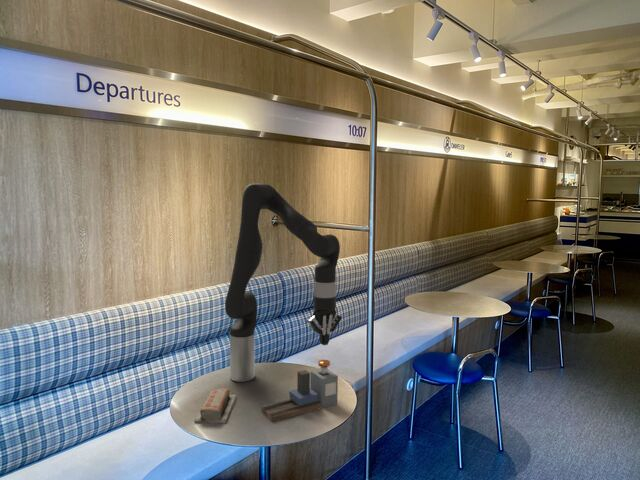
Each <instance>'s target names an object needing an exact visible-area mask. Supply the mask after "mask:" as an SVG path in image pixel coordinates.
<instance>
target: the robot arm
mask: <svg viewBox="0 0 640 480" xmlns="http://www.w3.org/2000/svg"><path fill="white" fill-rule="evenodd" d="M261 210H268V211H271V212H273V213H274V214H275V215H277V216H278V217H279V218H280V220H281V221H282V223H283V226H285V228H286V229H287V230H288V231H289V233H291V234H293V235H294V236H295V237H296V238H297V239H298V240H300V241H302V243H303V244H304V245H305V247H306V248H307V249H308V251H309V252H311V254H312V255H314V256H315V257H319V258H320V260H319V262H318V263H317V264H316V265H315V266H314V284H313V313H312V317H310V318H308V319H307V320H306V322H307V323H308V325H309V326H310V328H311V329H312V330H313V331H314V332H315V333H317V334H318V335H319V343H320V344H321V345H322V346H327V345H328V344H329V343H330V333H332V332H334V331H335V330H336V328H337V327H338V325H339V324H340V322H341V321H342V318H343V317H342V316H341V315H339V314H338V313H337V310H336V308H337V283H336V279H337V277H336V275H337V274H336V269H337V264H338V262H339V257H340V252H341V250H340V249H341V247H340V246H341V245H340V241H339V239H338V238H337V236H335V235H334V234H325V235H324V234H323V235H322V234H320V233H319V232H318V227H317V225H316V224H315V223H314V222H312V221H311V220H309V219H308V218H306V217H305V216H304V215H303V214H301V213H300V212H299V211H297V210H296V209H295V208H294V207H293V206H292V205H290V203H289V202H287V201H286V199H285V198H284V197H283V196H281V194H280V193H279V192H278V191H277V190H276V189H275V188H274V187H273V186H272V185H271V184H268V183H250V184H248V185H247V186H246V187H245V188H244V191H243V194H242V199H241V215H240V216H241V217H240V224H239V225H240V226H239V231H238V232H239V233H238V240H237V245H236V249H235V250H236V251H235V257H234V262H233V264H234V265H233V269H232V274H231V279H230V283H229V287H228V289H227V294H226V298H225V302H224V304H225V305H224V309H225V313H226V316H228V318H230V319H232V320H235V322H234V323H233V324H232V325H230V328H229V347H230V348H229V365H230V366H229V367H230V368H229V369H230V370H229V371H230V373H229V374H230V375H229V376H230V377H229V378H230V380H232V381H235V382H242V383H243V382H248V381H251V380H254V378H255V364H256V363H255V330H256V326H257V319H258V318H257V316H258V302H257V298H256V296H255V295H254V293H253V292H251V291H248V290H247V286H248V284H249V282H250V281H251V278H252V277H253V275H254V274H255V272H256V271H257V269H258V267H259V265H260V262H261V258H262V253H263V241H262V237H261V233H260V230H259V218H260V213H261ZM316 323H317V324H316Z"/></svg>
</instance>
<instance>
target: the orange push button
mask: <svg viewBox="0 0 640 480" xmlns="http://www.w3.org/2000/svg"><path fill="white" fill-rule="evenodd" d="M317 363H318V367H320V369H321V375H322V376H325V375H328V370H329V369H328V367H330V366H331V361H330V360H328V359H320V360H318V362H317Z"/></svg>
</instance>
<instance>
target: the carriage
mask: <svg viewBox="0 0 640 480" xmlns="http://www.w3.org/2000/svg"><path fill="white" fill-rule="evenodd" d="M310 380H311V372H309V371H307V370H306V369H304V370H299V371H297V387H296V388H295V389H291V390H289V391H288V392H289V393H288V394H289V397H288V398H289V399H292V400H293V401H294V402H295V403H296V404H298V405H299V406H301V405H305V404H308V403H312V402H316V401H318V394H317V393H316V392H314V391H313V390H312V389H310Z"/></svg>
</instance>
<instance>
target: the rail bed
mask: <svg viewBox="0 0 640 480" xmlns="http://www.w3.org/2000/svg"><path fill="white" fill-rule="evenodd" d="M319 402H320V401H319V400H318V401H316V402H312V403H308V404H305V405H301V406H299V405H298V404H296V403H295V402H294V401H293V400H292V399H290V398H289V399H284V400H280V401H278V402H273V403H269V404H264V405H262V406H261V413H262V414H263V415H264V416H265V417H266V418H268V419H269V420H270V422H277V421H279V420H284V419H287V418H291V417H294V416H298V414H299V415H302V414H306V413H309V412H313V411H317V410H321V409H322V407H321V404H320V403H319Z"/></svg>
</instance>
